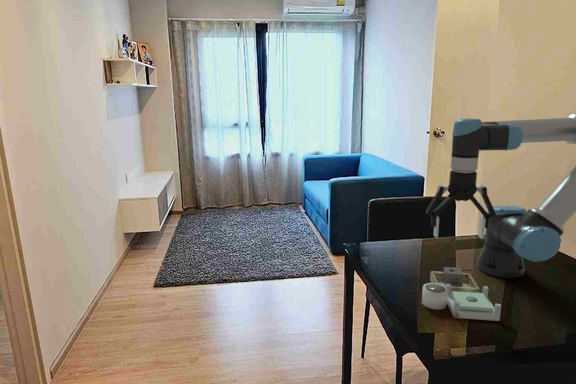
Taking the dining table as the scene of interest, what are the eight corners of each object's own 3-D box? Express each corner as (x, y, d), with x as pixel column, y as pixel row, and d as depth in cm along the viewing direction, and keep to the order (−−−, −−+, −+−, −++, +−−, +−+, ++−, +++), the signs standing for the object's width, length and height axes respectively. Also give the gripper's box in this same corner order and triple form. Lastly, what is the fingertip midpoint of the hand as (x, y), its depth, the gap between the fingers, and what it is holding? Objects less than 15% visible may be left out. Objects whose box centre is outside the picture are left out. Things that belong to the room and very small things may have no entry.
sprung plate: (482, 296, 123) (483, 292, 123) (492, 311, 114) (493, 307, 114) (451, 294, 124) (451, 290, 124) (458, 309, 116) (459, 305, 115)
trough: (468, 282, 137) (469, 273, 136) (478, 298, 126) (479, 289, 125) (429, 279, 138) (430, 271, 138) (436, 295, 128) (437, 286, 127)
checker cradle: (485, 300, 125) (487, 286, 124) (499, 320, 113) (501, 306, 112) (444, 297, 126) (445, 283, 125) (453, 317, 115) (455, 303, 114)
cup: (443, 298, 126) (444, 283, 124) (448, 310, 119) (450, 294, 118) (419, 297, 127) (421, 282, 125) (423, 308, 120) (425, 292, 119)
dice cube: (442, 280, 136) (443, 266, 135) (458, 281, 135) (459, 267, 134) (445, 287, 131) (446, 273, 130) (462, 288, 131) (463, 274, 129)
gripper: (502, 168, 126) (495, 233, 131) (418, 168, 129) (415, 232, 134) (512, 173, 119) (504, 242, 123) (423, 172, 122) (419, 239, 127)
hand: (458, 237), depth 129 cm, fingers open, 13 cm apart
